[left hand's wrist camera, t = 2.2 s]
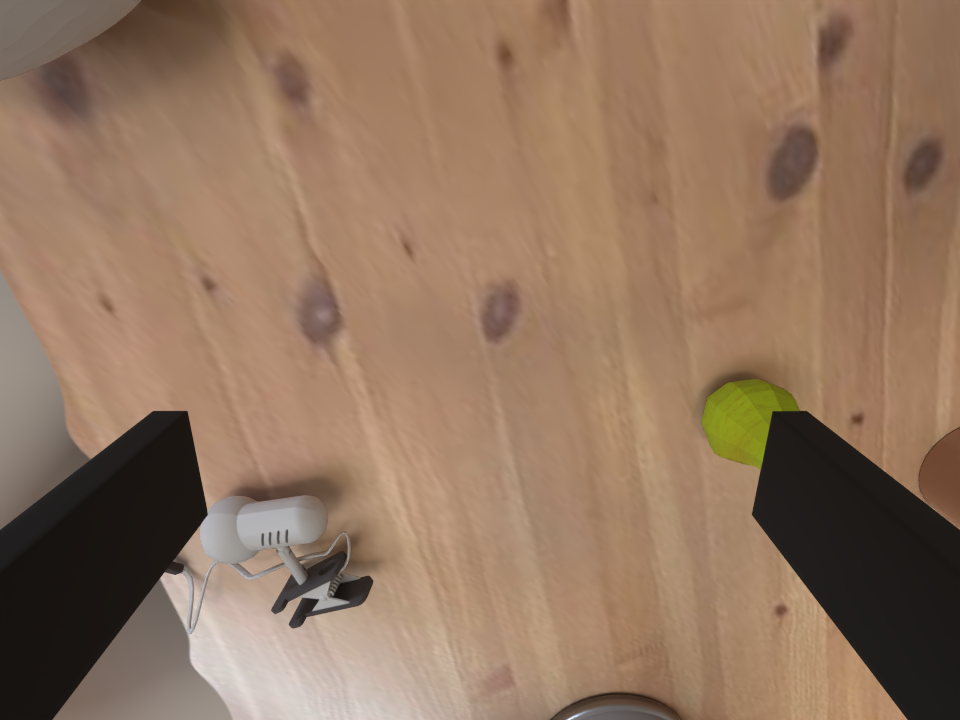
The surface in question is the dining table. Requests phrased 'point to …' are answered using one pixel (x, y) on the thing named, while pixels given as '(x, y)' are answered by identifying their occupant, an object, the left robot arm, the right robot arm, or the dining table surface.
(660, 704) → the left robot arm
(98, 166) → the dining table surface
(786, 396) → the fruit
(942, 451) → the jar
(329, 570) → the clip-on lamp
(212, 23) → the dining table surface
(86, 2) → the table lamp
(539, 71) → the dining table surface
